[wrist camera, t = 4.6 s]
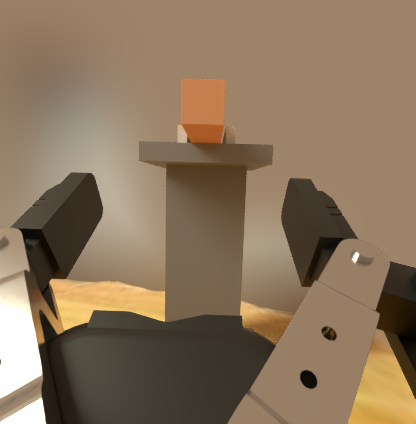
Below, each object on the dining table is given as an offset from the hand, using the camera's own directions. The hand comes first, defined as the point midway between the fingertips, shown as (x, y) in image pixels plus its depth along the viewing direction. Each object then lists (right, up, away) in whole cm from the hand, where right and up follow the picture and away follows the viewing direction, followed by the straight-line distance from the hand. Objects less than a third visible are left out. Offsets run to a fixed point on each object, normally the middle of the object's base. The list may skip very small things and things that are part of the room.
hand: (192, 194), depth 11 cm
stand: (0, -24, +28) cm, 37 cm away
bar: (+1, +7, +18) cm, 19 cm away
